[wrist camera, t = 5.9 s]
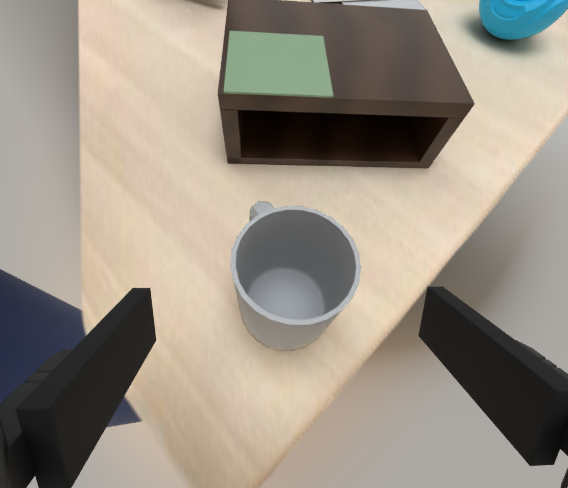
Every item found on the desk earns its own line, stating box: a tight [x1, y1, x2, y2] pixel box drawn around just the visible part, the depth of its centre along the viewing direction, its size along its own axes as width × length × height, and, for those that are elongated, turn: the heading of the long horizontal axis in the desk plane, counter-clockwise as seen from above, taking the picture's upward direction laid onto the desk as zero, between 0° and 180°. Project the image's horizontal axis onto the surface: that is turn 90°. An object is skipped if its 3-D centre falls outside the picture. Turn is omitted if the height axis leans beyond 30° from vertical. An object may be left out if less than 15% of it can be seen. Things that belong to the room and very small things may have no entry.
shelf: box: [218, 0, 475, 168], centre depth 32 cm, size 22×16×8 cm
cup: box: [231, 201, 361, 350], centre depth 21 cm, size 7×10×9 cm
